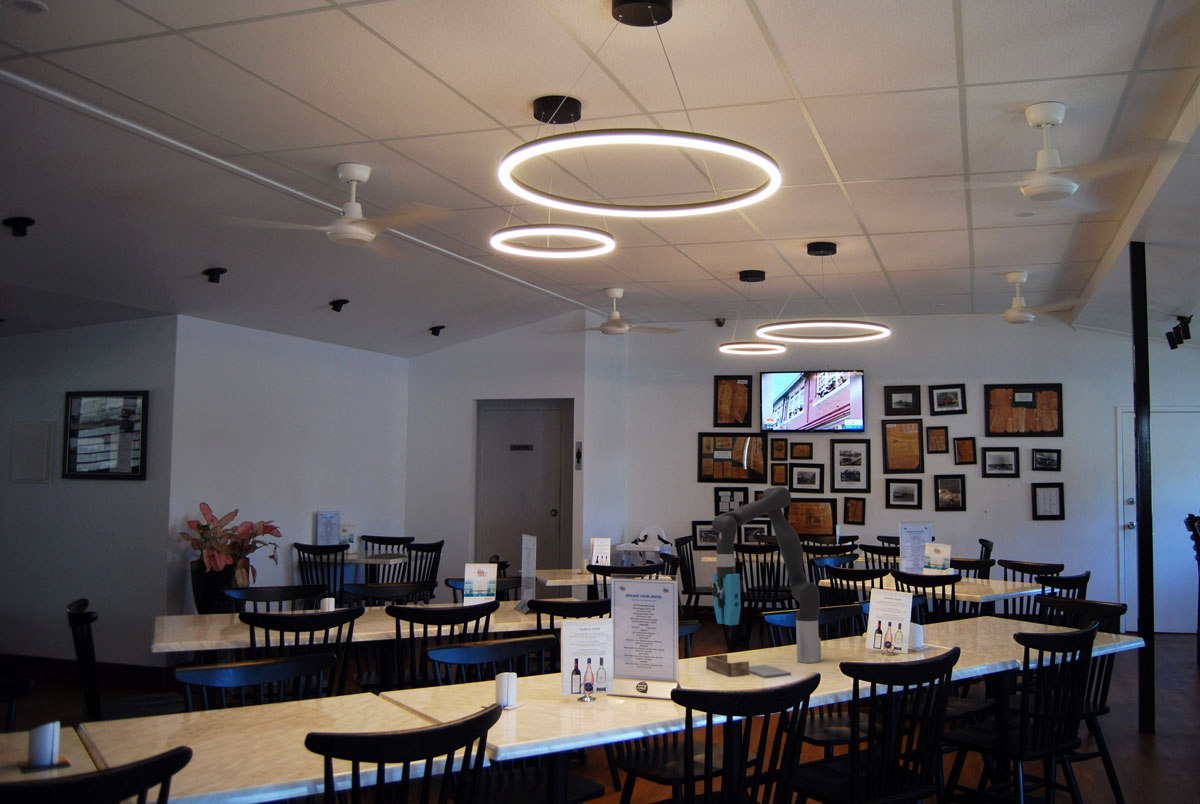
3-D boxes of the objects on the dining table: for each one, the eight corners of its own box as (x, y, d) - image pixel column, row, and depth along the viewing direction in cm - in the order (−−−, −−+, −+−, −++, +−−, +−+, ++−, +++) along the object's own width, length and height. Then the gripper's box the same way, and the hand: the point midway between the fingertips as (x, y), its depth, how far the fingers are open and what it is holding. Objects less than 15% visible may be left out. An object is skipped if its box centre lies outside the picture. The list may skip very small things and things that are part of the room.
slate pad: (765, 667, 372) (765, 664, 372) (791, 675, 356) (790, 672, 356) (740, 669, 367) (740, 667, 368) (765, 678, 351) (765, 675, 351)
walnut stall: (725, 666, 374) (725, 654, 374) (749, 674, 358) (748, 661, 358) (706, 668, 370) (706, 656, 370) (729, 676, 354) (728, 663, 355)
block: (742, 624, 362) (740, 574, 364) (732, 626, 360) (730, 575, 361) (723, 621, 372) (721, 572, 374) (713, 622, 370) (711, 572, 371)
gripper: (735, 563, 374) (737, 605, 373) (705, 565, 369) (707, 607, 367) (745, 564, 367) (747, 607, 366) (715, 566, 362) (716, 609, 360)
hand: (727, 607), depth 366 cm, fingers closed on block, 5 cm apart
